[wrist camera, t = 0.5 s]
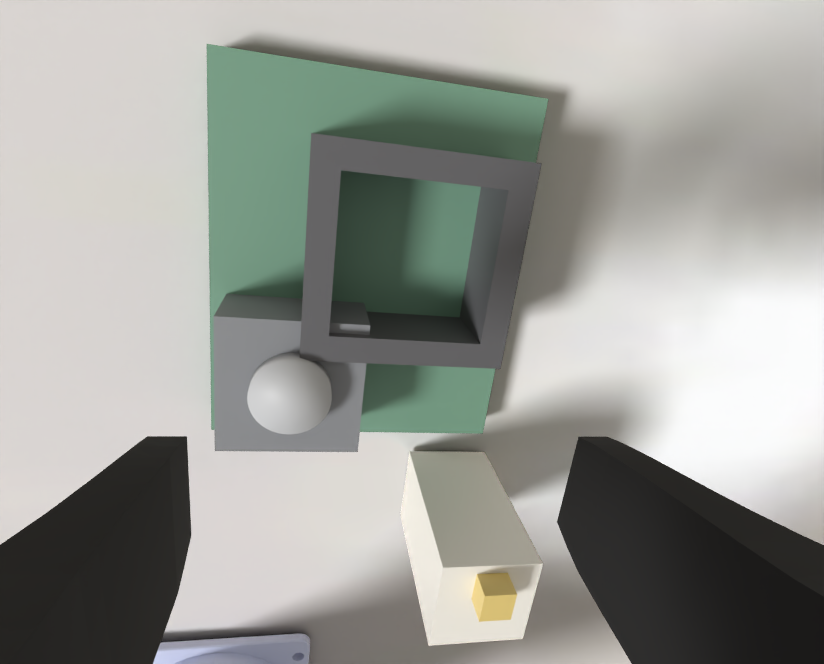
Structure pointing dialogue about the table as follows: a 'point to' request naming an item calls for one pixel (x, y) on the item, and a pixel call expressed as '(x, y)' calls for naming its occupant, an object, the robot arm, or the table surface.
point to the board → (359, 249)
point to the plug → (466, 549)
